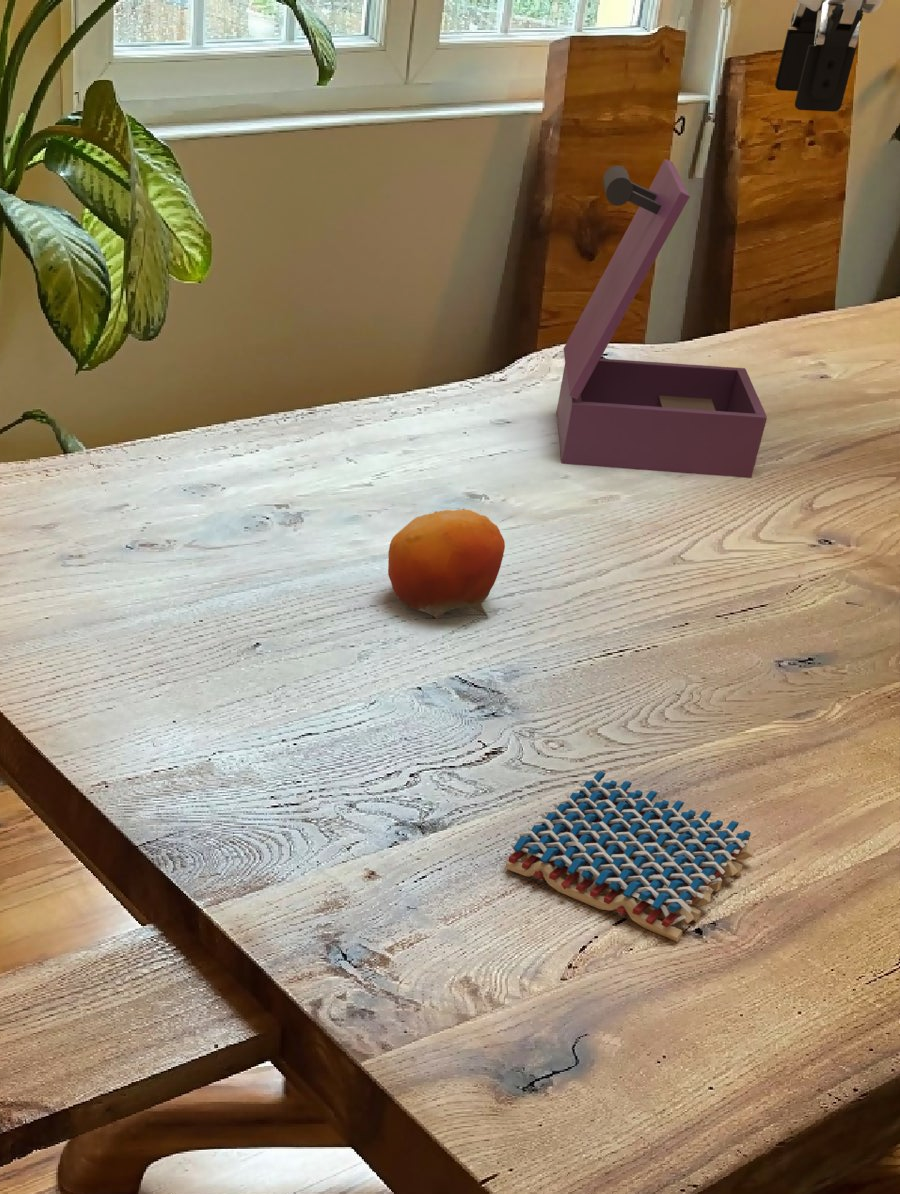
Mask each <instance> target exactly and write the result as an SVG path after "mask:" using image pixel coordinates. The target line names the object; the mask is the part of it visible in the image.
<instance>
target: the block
mask: <svg viewBox="0 0 900 1194" xmlns="http://www.w3.org/2000/svg"><path fill="white" fill-rule="evenodd" d="M656 407H667V408H681V409H695V410H710V411H716V410H715V407H714V405H713V402H712V399H703V398H689V397H674V396H660V395H659V397H658V401H657V406H656Z"/></svg>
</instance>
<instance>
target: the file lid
mask: <svg viewBox="0 0 900 1194" xmlns="http://www.w3.org/2000/svg"><path fill="white" fill-rule="evenodd" d="M602 185H603V189H604V192H605V193H604V194H605V196H606V199H607V201H608V202H609V204H611V205H613V206H616V207H617V206H619V207H620V206H622V205H623V206H624V205H625V204H626V203H627V202H629V203H631V204H634V205H636V206H638V209H637V211H636V212H635V214H634V216H633V218H632V220H631V222H630V223H629V225H628V227H627V229H626V231H625V233H624V235H623V237H622V238H621V239H620V242H619V243H618V246H617V248H616V249H615V252H614V253H613V256H612V257H611V259H610V261H609V262H608V264H607V266H606V268H605V270H604V272H603V274H602V275H601V277H600V280H599V281H598V283H597V285H596V287H595V289H594V290H593V293H592V294H591V297H590V298H589V300H588V302H587V304H586V305H585V307H584V309H583V311H582V312H581V315H580V317H579V319H578V321H577V322H576V324H575V326H574V328H573V330H572V332H571V334H570V336H569V338H568V339H567V341H566V343H565V344H564V346H563V356H564V365H565V364H566V372H567V380H568V388H569V396H571V397H573V398H575V399H578V398H579V396H580V394H581V393H582V391H583V389H584V387H585V385H586V383H587V382H588V380H589V378H590V376H591V374H592V373H593V371H594V369H595V367H596V365H597V364H598V362H599V360H600V359H602V356H603V354H605V351H606V349H607V347H609V344H610V342H611V341H612V338H613V337H614V334H615V333H616V331H617V329H618V328H619V326H620V324H621V322H622V320H623V318H624V317H625V315H626V313H627V311H628V310H629V308H630V305H631V304H632V302H633V300H634V298H635V297H636V295H637V293H638V291H639V289H640V288H641V286H642V284H643V282H644V281H645V279H646V277H647V275H648V273H649V272H650V270H651V268H652V266H653V264H654V263H655V261H656V259H657V257H658V255H659V253H661V250H662V248H663V246H664V244H665V242H666V241H667V239H668V238H669V236H670V234H671V232H672V230H673V228H674V226H675V225H676V223H677V220H678V219H679V218H680V216H681V214H682V212H683V209H684V208H685V206H686V204H687V203H688V201H689V199H690V197H691V195H690V193H689V191H688V190H687V188H686V186H685V184H684V182H683V180H682V177H681V176H680V174H679V171H678V170H677V168H676V165H675V164H674V162H673V161H671V160H669V159H667V158H665V159H664V160H663V161H662V163H661V166H660V167H659V169H658V171H657V173H656V174H655V176H654V179H653V181H652V182H651V184H650V186H649V188H645V187H644V186H642V185H639V184H637V183H635V182H633V181H631V179H630V175H629V173H628V170H627V169H626V168H625V167H624V166H621V165H613V166H611V167H609V168H608V169H607V170H606V171H605V172H604V174H603V177H602Z"/></svg>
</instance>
